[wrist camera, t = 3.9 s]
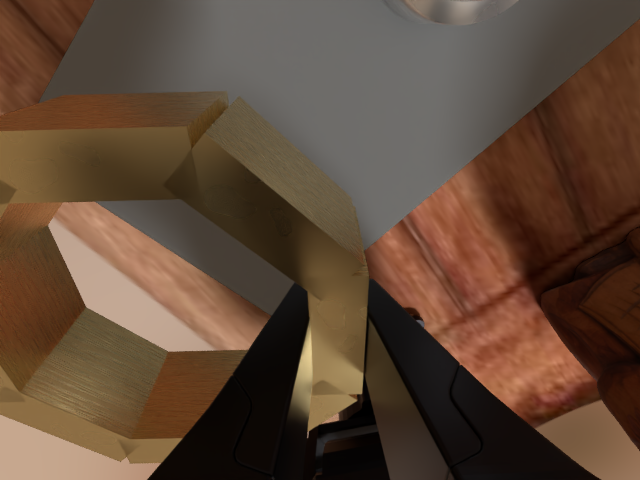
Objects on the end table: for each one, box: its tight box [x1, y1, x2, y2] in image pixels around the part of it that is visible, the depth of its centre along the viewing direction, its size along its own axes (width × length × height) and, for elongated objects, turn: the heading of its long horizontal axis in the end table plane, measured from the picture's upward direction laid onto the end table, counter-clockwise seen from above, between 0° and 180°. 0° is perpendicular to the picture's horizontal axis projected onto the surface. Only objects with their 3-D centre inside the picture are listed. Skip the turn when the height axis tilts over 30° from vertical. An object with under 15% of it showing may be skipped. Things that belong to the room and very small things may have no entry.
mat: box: [38, 0, 640, 316], centre depth 16 cm, size 24×16×2 cm, turn 136°
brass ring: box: [0, 91, 369, 463], centre depth 9 cm, size 9×9×3 cm
